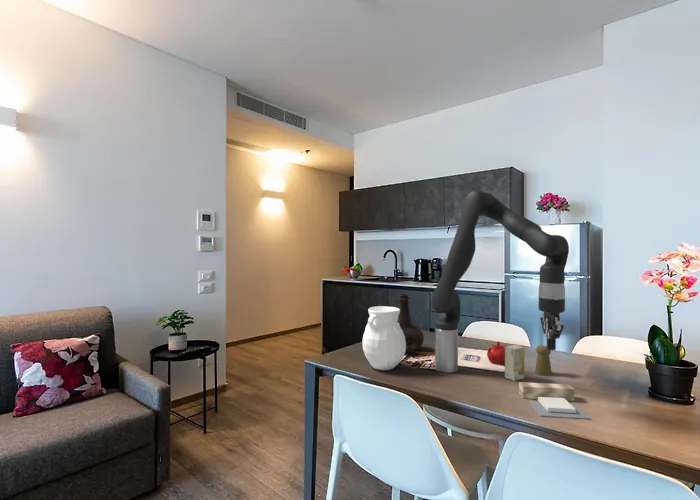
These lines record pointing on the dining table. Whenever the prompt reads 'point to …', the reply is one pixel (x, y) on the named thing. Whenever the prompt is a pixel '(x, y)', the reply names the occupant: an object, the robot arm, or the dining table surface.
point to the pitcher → (384, 338)
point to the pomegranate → (497, 354)
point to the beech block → (546, 390)
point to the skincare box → (514, 362)
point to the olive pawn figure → (543, 361)
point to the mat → (545, 413)
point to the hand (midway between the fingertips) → (551, 349)
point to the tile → (556, 405)
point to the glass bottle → (409, 326)
